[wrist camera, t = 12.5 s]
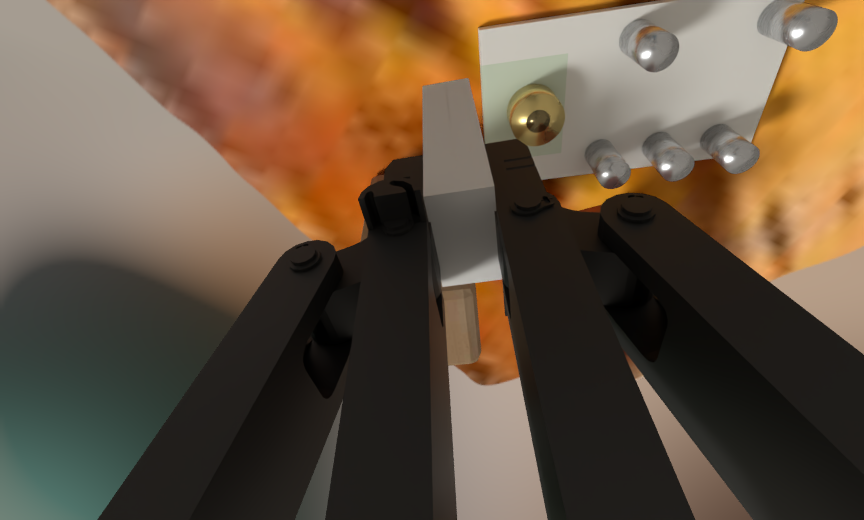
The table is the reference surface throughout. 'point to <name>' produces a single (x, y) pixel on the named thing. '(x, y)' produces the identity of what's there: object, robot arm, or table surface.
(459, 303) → the wooden block
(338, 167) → the table surface
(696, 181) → the table surface
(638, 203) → the robot arm
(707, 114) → the board
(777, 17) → the spacers
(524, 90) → the brass round knob
